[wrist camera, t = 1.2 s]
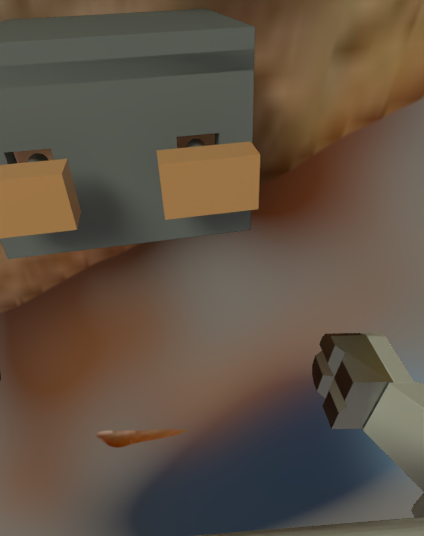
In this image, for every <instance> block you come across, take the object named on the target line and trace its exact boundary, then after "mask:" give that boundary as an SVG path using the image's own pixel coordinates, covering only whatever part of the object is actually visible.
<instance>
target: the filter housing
mask: <svg viewBox="0 0 424 536" xmlns="http://www.w3.org/2000/svg"><path fill="white" fill-rule="evenodd" d="M254 46H255V27H254V26H252V25H249V24H246V23H243V22H241V21H238V20H235V19H233V18H230V17H227V16H224V15H222V14H219V13H216V12H214V11H211V10H208V9H192V10H174V11H156V12H139V13H121V14H103V15H86V16H68V17H50V18H32V19H15V20H6V21H3V22H0V165H6V164H16V163H17V162H16V159H15V156H14V153H13V152H16V151H27V150H38V149H49V148H51V151H52V154H53V158H54V160H59V159H67V160H68V164H69V167H70V171H71V175H72V179H73V183H74V187H75V190H76V194H77V198H78V202H79V206H80V210H81V214H80V219H79V223H78V228H77V230H71V231H62V232H53V233H44V234H36V235H27V236H18V237H9V238H0V241H1V243H2V246H3V248H4V250H5V253H6V255H7V258H8V259H12V258H20V257H28V256H37V255H45V254H53V253H62V252H70V251H79V250H87V249H95V248H104V247H112V246H120V245H129V244H137V243H145V242H154V241H162V240H170V239H179V238H187V237H196V236H204V235H212V234H220V233H229V232H237V231H245V230H251V210H247V211H238V212H230V213H221V214H212V215H203V216H194V217H186V218H177V219H168V220H165V215H164V208H163V201H162V192H161V184H160V176H159V168H158V160H157V152H156V150H166V149H176V148H177V139H176V137H180V136H191V135H202V134H213V133H215V145H219V144H229V143H240V142H250V141H251V143H252V139H253V92H254Z"/></svg>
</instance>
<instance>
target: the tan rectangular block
mask: <svg viewBox="0 0 424 536" xmlns="http://www.w3.org/2000/svg"><path fill="white" fill-rule="evenodd" d="M156 152H157V160H158V168H159V176H160V184H161V192H162V201H163V208H164V215H165V220H168V219H177V218H186V217H194V216H203V215H212V214H221V213H230V212H238V211H247V210H255V209H258V207H259V178H260V154H259V152H258V151H257V150H256V148H255V147H254V145H253V144H252V143H251V141H250V142H240V143H229V144H219V145H208V146H205V144H204V142H203V141H201V140H200V139H192V140H191V141H189V142H188V144H187V147H186V148H176V149H166V150H156Z"/></svg>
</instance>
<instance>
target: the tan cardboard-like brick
mask: <svg viewBox="0 0 424 536" xmlns="http://www.w3.org/2000/svg"><path fill="white" fill-rule="evenodd" d="M80 214H81V210H80V206H79V202H78V198H77V194H76V190H75V187H74V183H73V179H72V175H71V171H70V167H69V164H68V160H67V159H59V160H48V158H47V157H46V156H45V155H43V154H39V153H36V154H33V155H31V156H30V158H29V159H28V161H27V163H16V164H6V165H0V238H9V237H18V236H27V235H36V234H44V233H53V232H62V231H71V230H77V228H78V223H79V219H80Z"/></svg>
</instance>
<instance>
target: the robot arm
mask: <svg viewBox="0 0 424 536" xmlns="http://www.w3.org/2000/svg"><path fill="white" fill-rule="evenodd" d="M320 347H321V349H322V351H321V352H320V353H318V354H317V355H316V356H315V358H314V361H313V365H312V376H313V381H314V385H315V387H316V390H317V392H318V393H319V394H321V395H322V396H323V397H324V398H325V401H324V403H323V409H324V411H325V414H326V416H327V419H328V421H329V424H330V426H331V429H363V430H364V432H365V433H366V434H367V435H368V436H369V437H370V438H371V439H372V440H373V441H374V442H375V443H376V444H377V445H378V446H379V447H380V448H381V449H382V450H383V451H384V452H385V453H386V454H387V455H388V456H389V457H390V458H391V459H392V460H393V461H394V462H395V463H396V464H397V465H398V466H399V467H400V468H401V469H402V470H403V471H404V472H405V473H406V474H407V475H408V476H409V477H410V478H411V479H412V480H413V481H414V482H415V483H416V484H417V485H418V486H419V487H420V488H421V489H422V490H423V491H424V385H423V384H422V383H421V382H414V381H413V379H412V377H411V376H410V374H409V373H408V371H407V370H406V368H405V367H404V365H403V363H402V362H401V360H400V359H399V357H398V356H397V354H396V352H395V351H394V349H393V348H392V346H391V345H390V343H389V342H388V340H387V339H386V337H385V336H384V335H383V334H381V333H342V334H341V333H340V334H325V335H324V336H323V337H322V339H321V341H320ZM0 380H1V374H0ZM412 513H413V515H414V517H415V518H405V519H393V520H380V521H368V522H356V523H344V524H331V525H320V526H307V527H295V528H283V529H271V530H258V531H246V532H234V533H223V534H211V535H198V536H424V493H423V494H422V496H421V497H420V498H419V499H418V500H417V502H416V503H415V504H414V506H413V508H412Z"/></svg>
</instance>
